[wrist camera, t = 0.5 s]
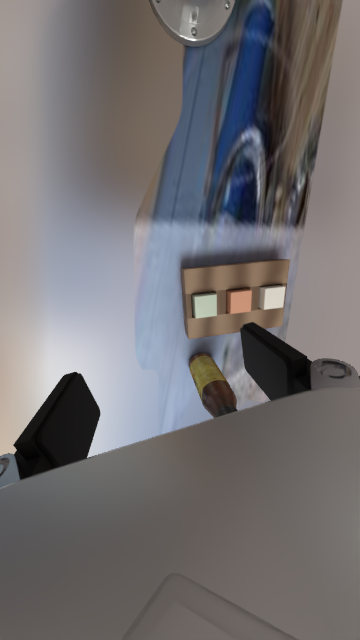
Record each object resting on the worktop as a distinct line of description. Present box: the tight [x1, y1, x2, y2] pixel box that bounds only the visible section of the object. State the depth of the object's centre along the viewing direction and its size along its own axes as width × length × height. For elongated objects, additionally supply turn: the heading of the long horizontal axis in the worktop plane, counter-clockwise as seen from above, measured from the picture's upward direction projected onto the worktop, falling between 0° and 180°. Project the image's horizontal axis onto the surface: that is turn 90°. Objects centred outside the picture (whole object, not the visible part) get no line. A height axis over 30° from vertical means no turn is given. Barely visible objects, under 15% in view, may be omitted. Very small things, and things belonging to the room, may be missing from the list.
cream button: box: [258, 284, 286, 310], centre depth 38 cm, size 4×4×3 cm
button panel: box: [180, 259, 290, 339], centre depth 39 cm, size 21×14×4 cm, turn 94°
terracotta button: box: [226, 288, 252, 314], centre depth 37 cm, size 4×4×3 cm
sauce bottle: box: [189, 353, 238, 418], centre depth 36 cm, size 7×6×20 cm
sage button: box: [191, 292, 217, 318], centre depth 36 cm, size 4×4×3 cm
